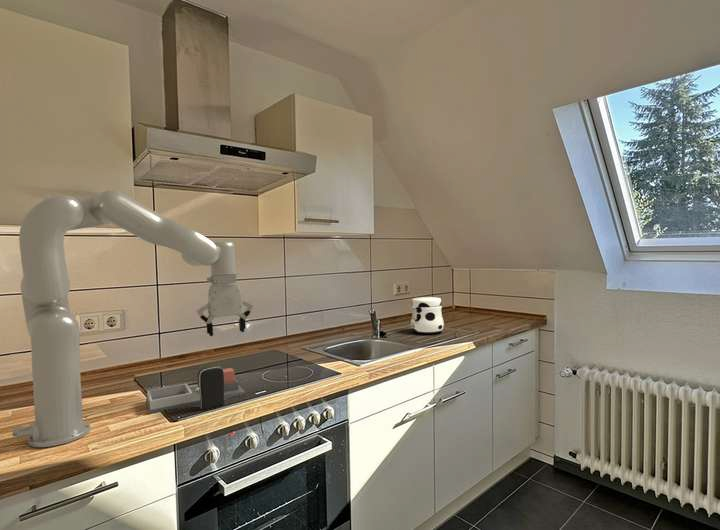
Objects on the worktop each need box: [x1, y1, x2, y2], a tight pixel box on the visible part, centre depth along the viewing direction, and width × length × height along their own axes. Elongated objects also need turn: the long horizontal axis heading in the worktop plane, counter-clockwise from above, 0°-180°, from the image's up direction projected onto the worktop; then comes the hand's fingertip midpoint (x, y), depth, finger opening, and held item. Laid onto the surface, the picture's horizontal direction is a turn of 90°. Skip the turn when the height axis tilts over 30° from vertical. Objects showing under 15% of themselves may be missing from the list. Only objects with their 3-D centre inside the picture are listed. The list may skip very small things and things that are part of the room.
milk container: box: [410, 296, 445, 335], centre depth 219 cm, size 17×17×18 cm
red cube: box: [222, 367, 236, 384], centre depth 132 cm, size 4×4×4 cm
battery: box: [197, 365, 225, 410], centre depth 120 cm, size 7×4×11 cm, turn 131°
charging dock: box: [145, 378, 246, 415], centre depth 128 cm, size 27×12×4 cm, turn 121°
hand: (226, 333), depth 132 cm, fingers open, 9 cm apart
